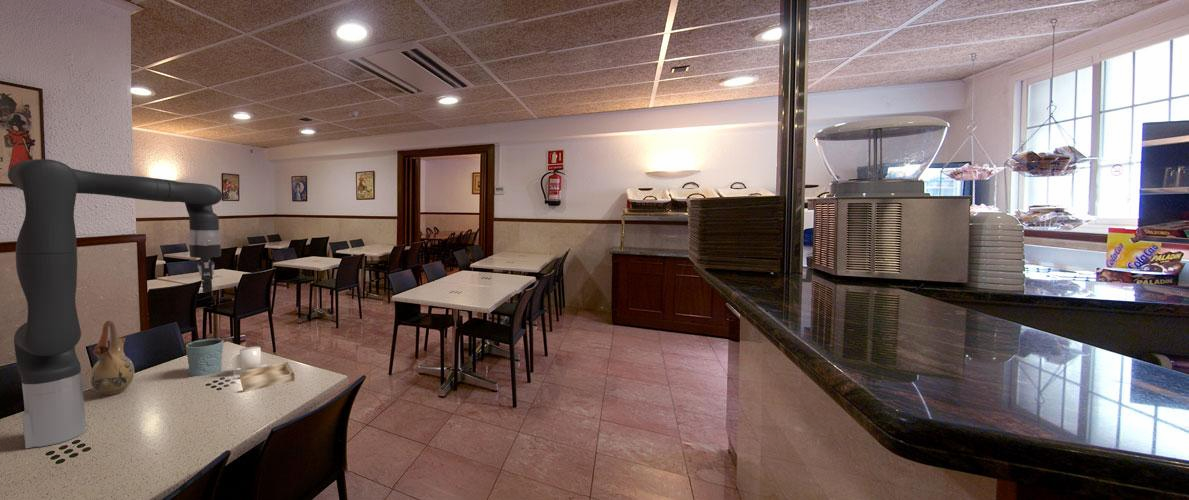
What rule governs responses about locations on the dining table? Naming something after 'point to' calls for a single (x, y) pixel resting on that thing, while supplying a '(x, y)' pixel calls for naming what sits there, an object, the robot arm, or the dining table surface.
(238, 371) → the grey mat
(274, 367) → the beech holder
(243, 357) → the cream jug
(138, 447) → the dining table surface
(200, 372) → the teal plant pot
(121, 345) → the ceramic vessel
